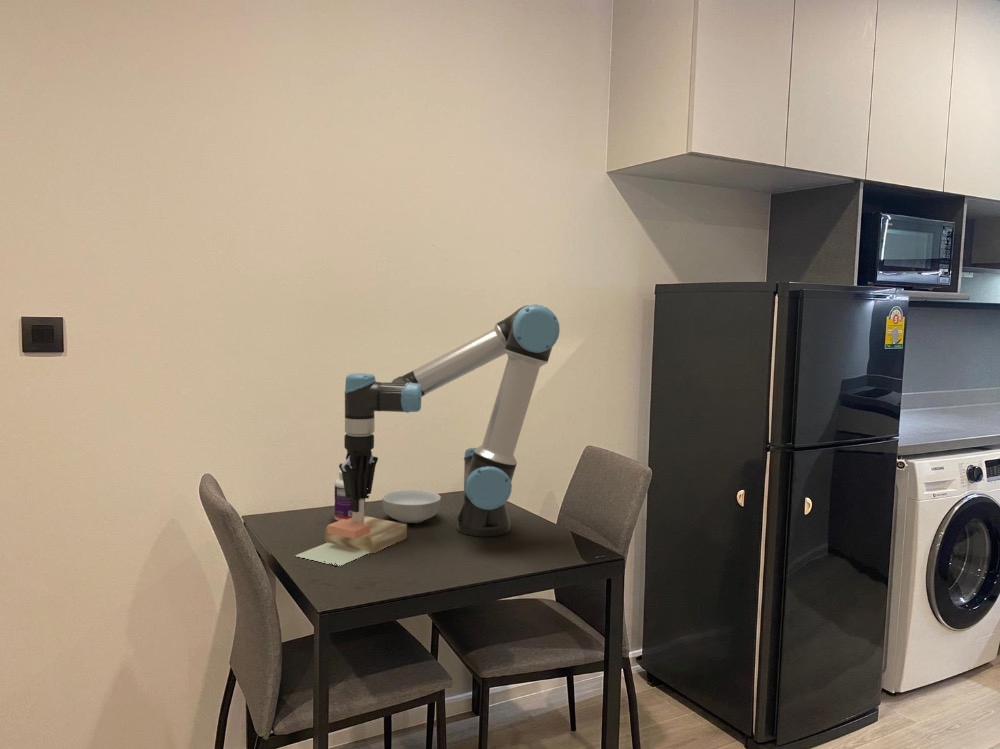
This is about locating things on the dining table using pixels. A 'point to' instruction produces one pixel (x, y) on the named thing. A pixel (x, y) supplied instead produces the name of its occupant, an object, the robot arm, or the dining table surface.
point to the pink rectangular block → (348, 528)
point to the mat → (333, 554)
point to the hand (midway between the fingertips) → (358, 523)
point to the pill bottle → (342, 501)
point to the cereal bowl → (411, 505)
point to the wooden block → (372, 535)
